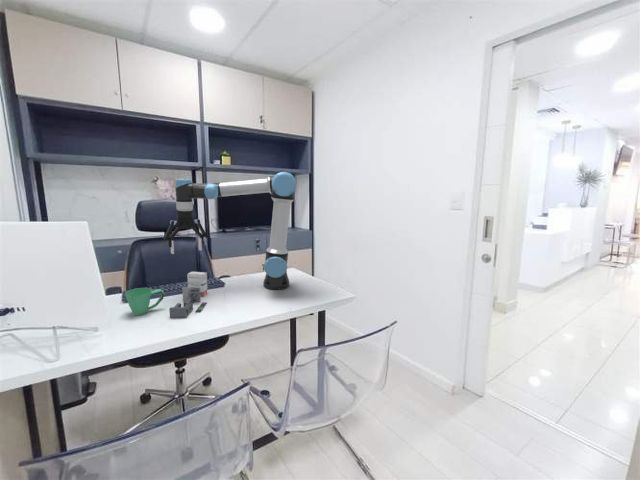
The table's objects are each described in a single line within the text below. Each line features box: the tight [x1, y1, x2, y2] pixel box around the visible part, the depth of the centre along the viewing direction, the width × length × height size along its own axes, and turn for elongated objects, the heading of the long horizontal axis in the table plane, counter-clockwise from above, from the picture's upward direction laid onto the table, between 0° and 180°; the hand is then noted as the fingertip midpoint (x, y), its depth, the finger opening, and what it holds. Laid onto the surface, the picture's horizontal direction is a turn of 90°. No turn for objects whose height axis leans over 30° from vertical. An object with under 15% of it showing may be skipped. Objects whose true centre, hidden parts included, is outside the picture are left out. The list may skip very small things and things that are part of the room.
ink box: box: [186, 271, 208, 298], centre depth 154 cm, size 9×5×12 cm, turn 84°
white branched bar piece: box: [181, 286, 206, 307], centre depth 142 cm, size 11×8×7 cm
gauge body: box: [169, 301, 208, 319], centre depth 136 cm, size 11×17×4 cm
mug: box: [125, 287, 165, 316], centre depth 132 cm, size 15×10×10 cm
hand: (186, 251), depth 152 cm, fingers open, 13 cm apart
